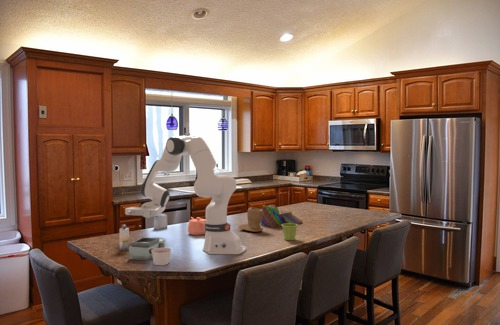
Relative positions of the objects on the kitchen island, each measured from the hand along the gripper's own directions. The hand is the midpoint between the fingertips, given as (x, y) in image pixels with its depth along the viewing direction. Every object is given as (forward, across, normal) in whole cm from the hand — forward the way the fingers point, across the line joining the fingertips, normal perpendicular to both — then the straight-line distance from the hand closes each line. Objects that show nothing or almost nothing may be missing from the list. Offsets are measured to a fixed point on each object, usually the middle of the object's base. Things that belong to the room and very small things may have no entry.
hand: (135, 213), depth 222 cm
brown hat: (-48, +55, +17) cm, 75 cm away
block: (-73, +70, +17) cm, 102 cm away
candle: (+31, +31, +17) cm, 47 cm away
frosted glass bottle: (+12, 0, +17) cm, 21 cm away
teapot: (-32, +24, +17) cm, 44 cm away
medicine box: (-43, -7, +17) cm, 47 cm away
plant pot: (-29, +82, +16) cm, 89 cm away
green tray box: (+19, +18, +17) cm, 31 cm away
